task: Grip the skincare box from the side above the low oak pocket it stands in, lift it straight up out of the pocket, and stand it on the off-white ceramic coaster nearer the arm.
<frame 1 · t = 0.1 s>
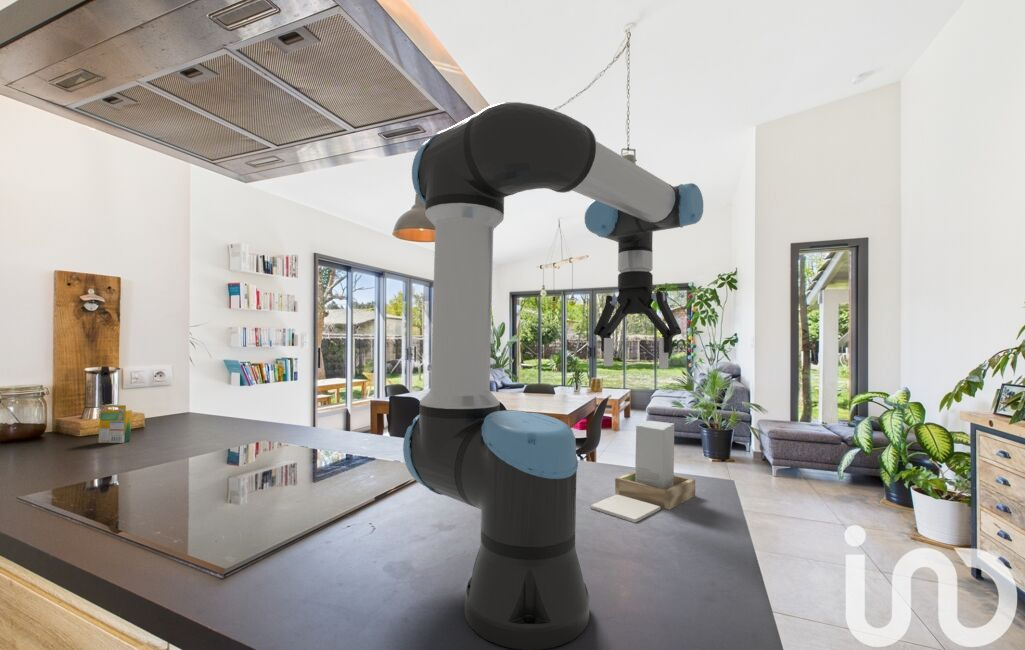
hand: (634, 367, 101), 28 cm above the counter, tool pointing down, fingers open, 13 cm apart
coaster: (625, 508, 91), on the counter
pocket: (655, 495, 100), on the counter
crayon box: (114, 442, 142), on the counter
skincare box: (655, 496, 100), resting in pocket
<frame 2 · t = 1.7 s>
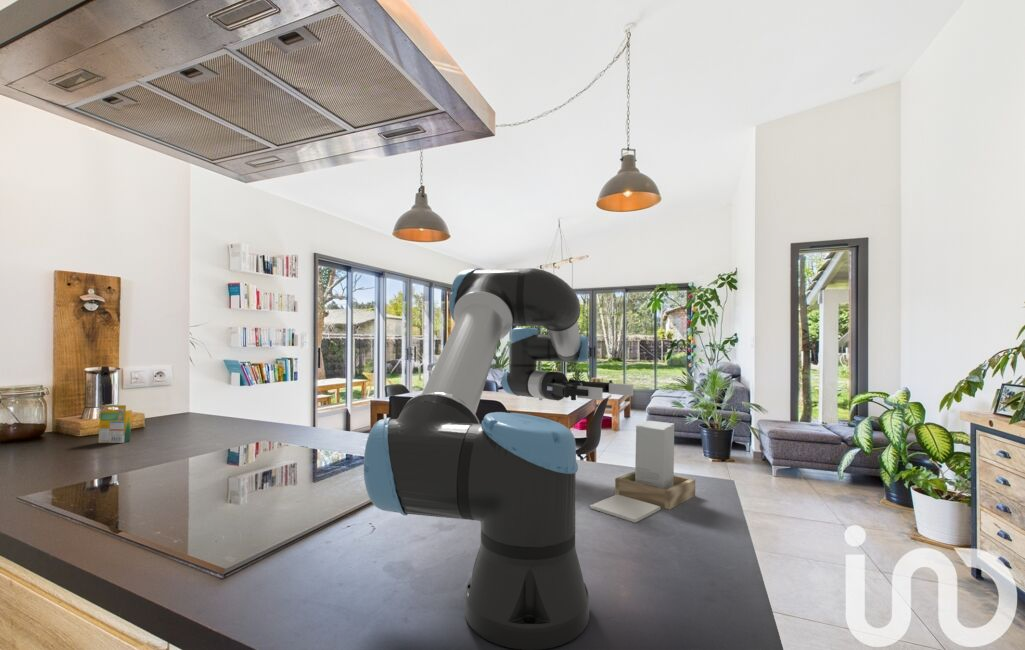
hand: (617, 392, 108), 22 cm above the counter, tool horizontal, fingers open, 13 cm apart
nothing on the counter moved.
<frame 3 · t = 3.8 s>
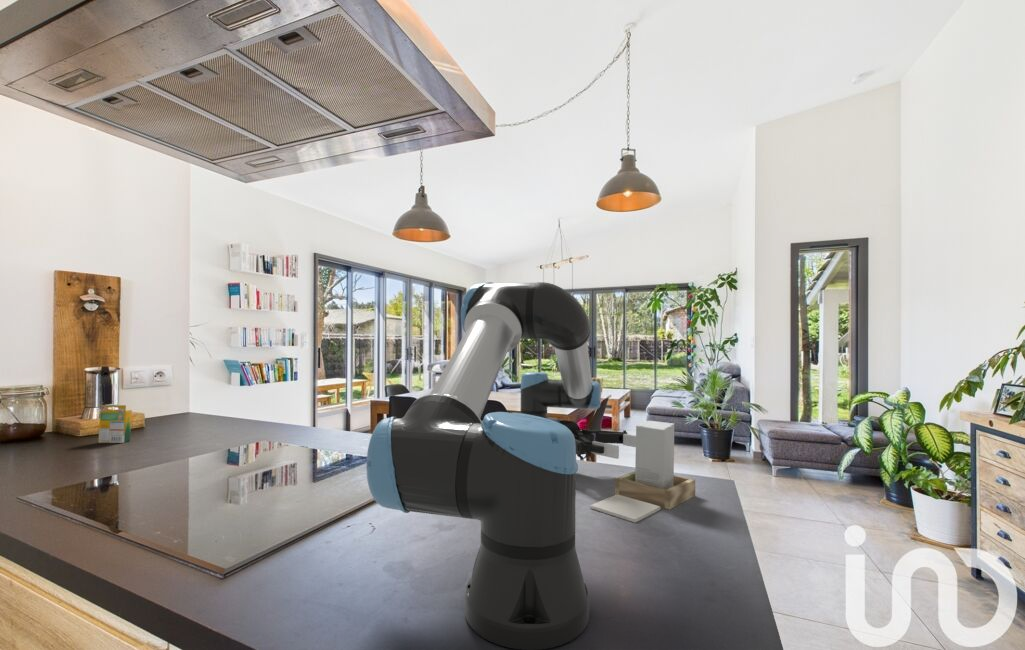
hand: (633, 447, 105), 9 cm above the counter, tool horizontal, fingers open, 13 cm apart
nothing on the counter moved.
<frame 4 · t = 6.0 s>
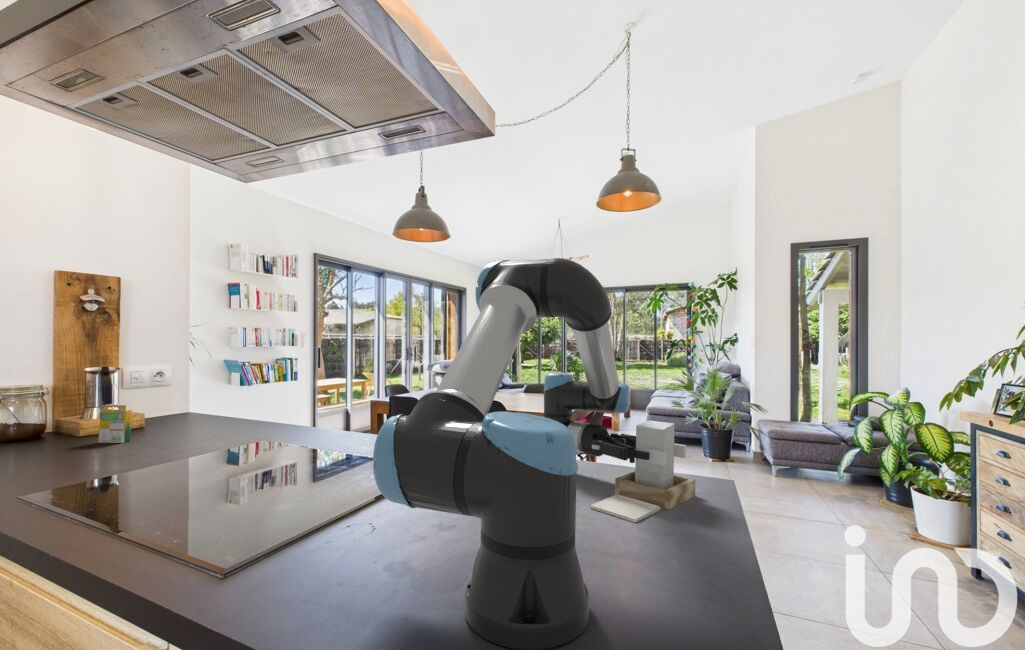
hand: (675, 455, 97), 10 cm above the counter, tool horizontal, fingers closed on skincare box, 9 cm apart
skincare box: (655, 495, 100), resting in pocket, touching gripper
everything else where it was.
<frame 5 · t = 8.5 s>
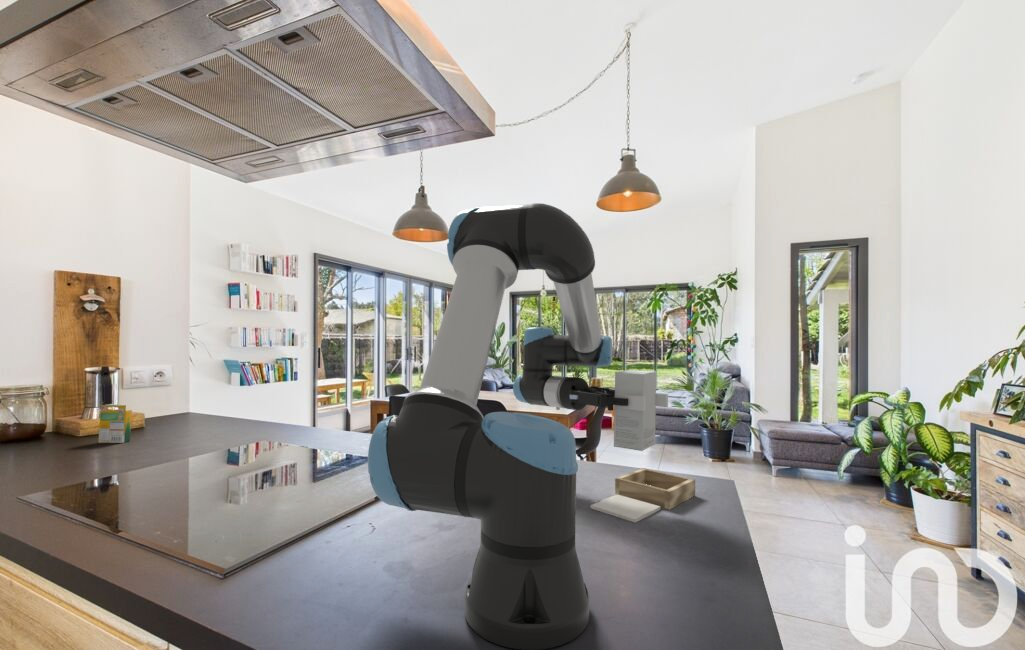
hand: (656, 402, 92), 21 cm above the counter, tool horizontal, fingers closed on skincare box, 9 cm apart
skincare box: (635, 447, 94), point 12 cm above the counter, touching gripper
everything else where it was.
when the fingers open (11 cm above the counter, at t = 11.2 s): skincare box drops 1 cm, resting on coaster.
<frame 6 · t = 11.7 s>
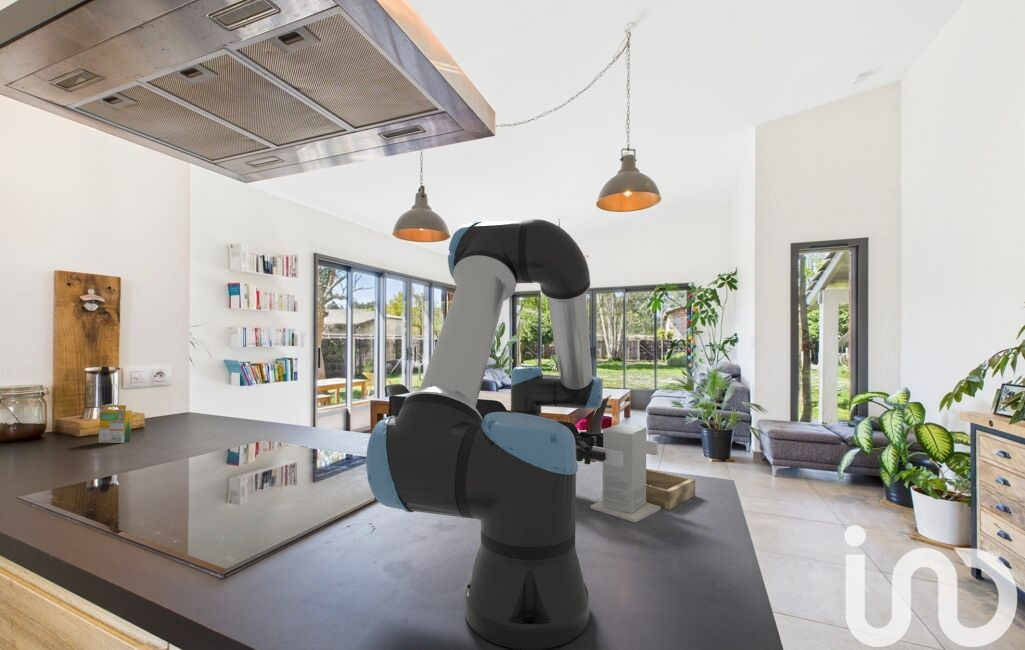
hand: (640, 453, 89), 11 cm above the counter, tool horizontal, fingers open, 13 cm apart
skincare box: (625, 506, 91), resting on coaster
everything else where it was.
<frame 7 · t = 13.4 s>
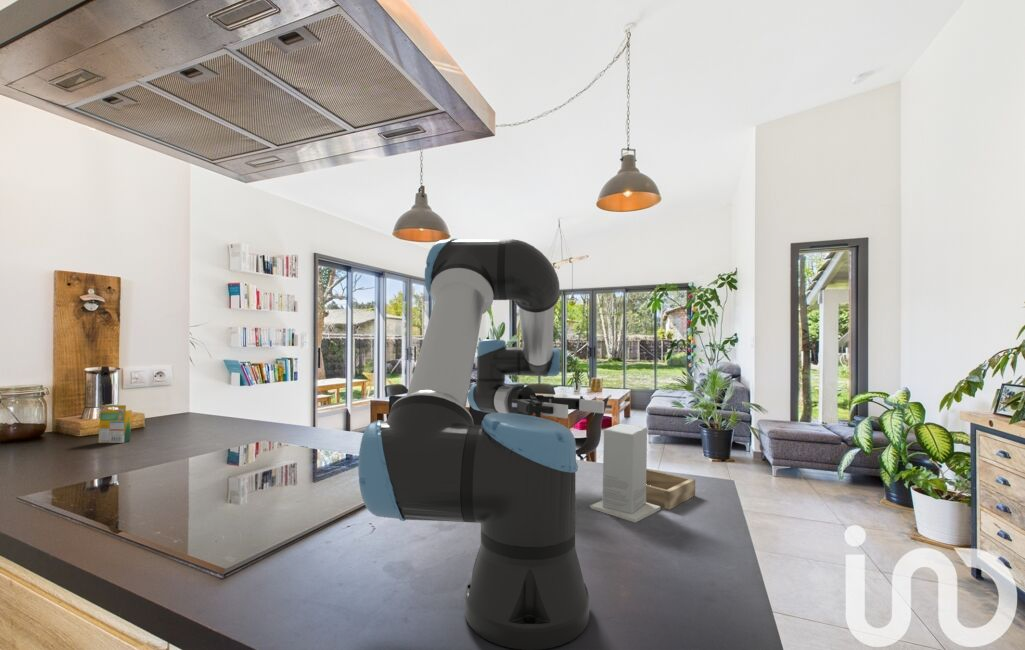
hand: (586, 409, 99), 19 cm above the counter, tool horizontal, fingers open, 13 cm apart
nothing on the counter moved.
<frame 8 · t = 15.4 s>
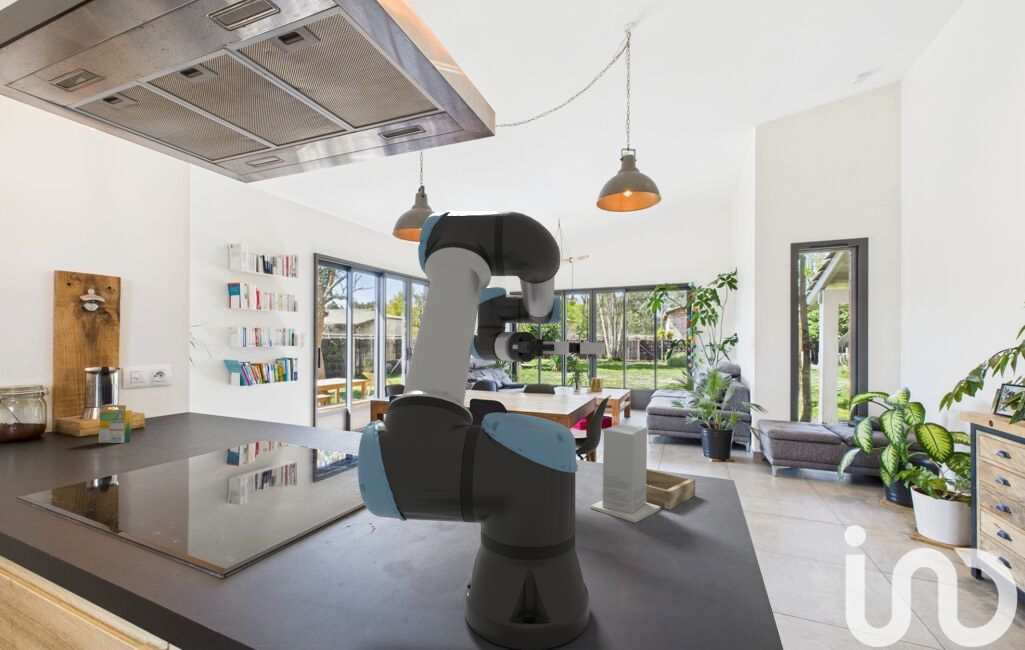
hand: (587, 348, 99), 32 cm above the counter, tool horizontal, fingers open, 13 cm apart
nothing on the counter moved.
at the end: skincare box inside the target area on the coaster (0.1 cm from its centre), point 0.4 cm above the coaster's base; skincare box tilted 0°; the gripper is holding nothing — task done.
